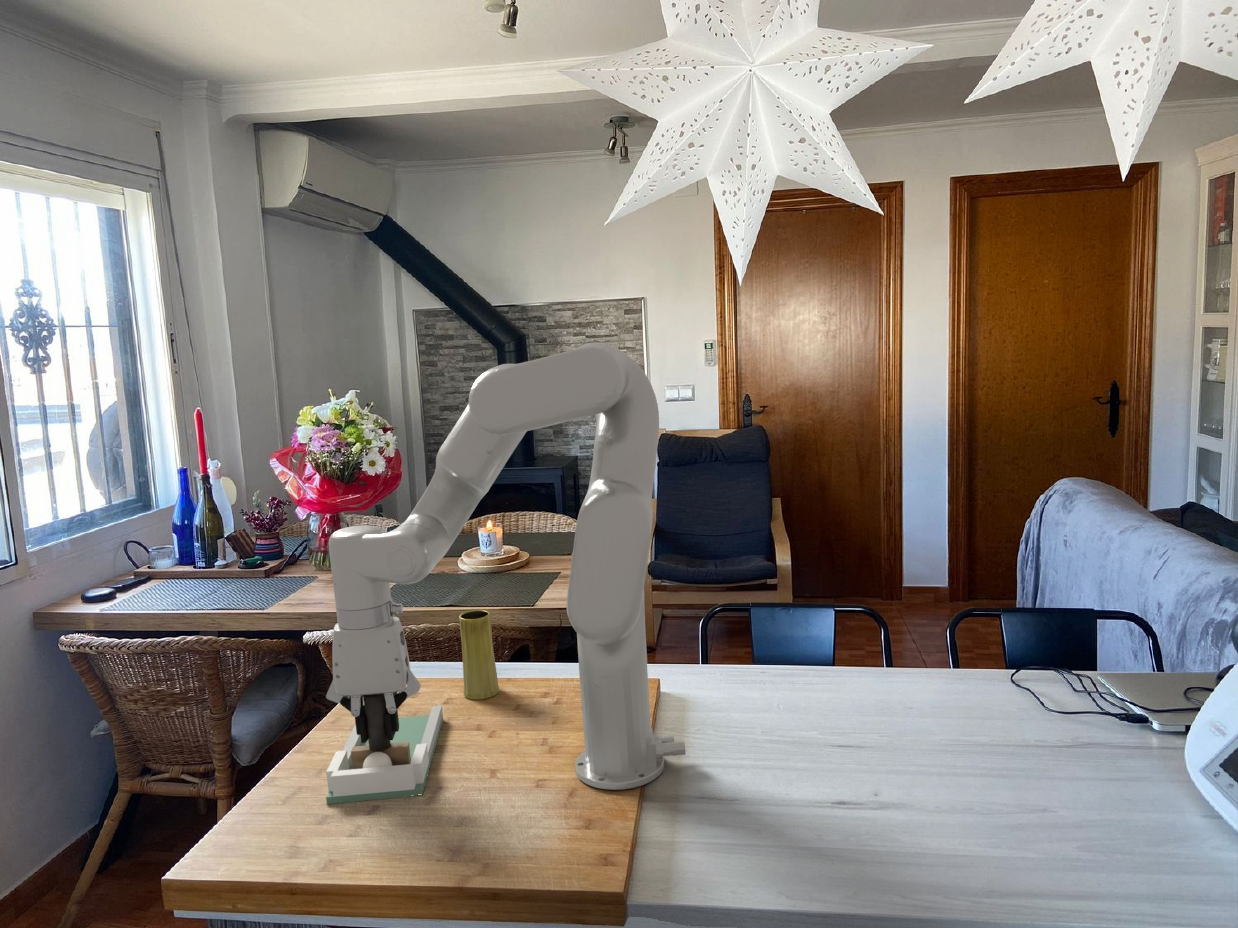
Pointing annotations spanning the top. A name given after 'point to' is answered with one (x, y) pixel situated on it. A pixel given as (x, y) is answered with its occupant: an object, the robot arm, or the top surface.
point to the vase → (478, 655)
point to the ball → (377, 760)
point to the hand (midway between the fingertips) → (378, 736)
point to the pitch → (388, 779)
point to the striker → (379, 735)
